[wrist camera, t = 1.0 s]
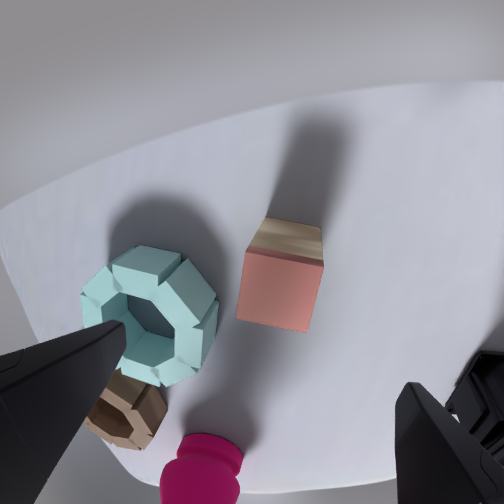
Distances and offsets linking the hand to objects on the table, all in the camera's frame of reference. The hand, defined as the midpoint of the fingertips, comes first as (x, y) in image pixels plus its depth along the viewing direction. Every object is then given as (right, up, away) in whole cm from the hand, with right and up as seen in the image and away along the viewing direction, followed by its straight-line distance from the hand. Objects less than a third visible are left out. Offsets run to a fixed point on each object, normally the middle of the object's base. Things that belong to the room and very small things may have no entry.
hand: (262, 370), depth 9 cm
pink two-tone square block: (+2, +4, +10) cm, 11 cm away
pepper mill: (-4, -16, +18) cm, 25 cm away
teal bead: (-7, 0, +13) cm, 15 cm away
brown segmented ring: (-12, -10, +17) cm, 23 cm away
